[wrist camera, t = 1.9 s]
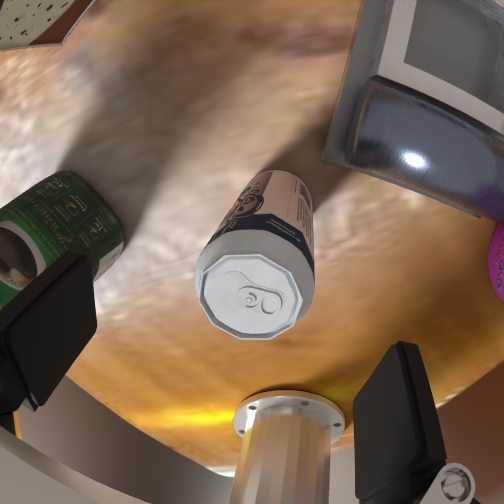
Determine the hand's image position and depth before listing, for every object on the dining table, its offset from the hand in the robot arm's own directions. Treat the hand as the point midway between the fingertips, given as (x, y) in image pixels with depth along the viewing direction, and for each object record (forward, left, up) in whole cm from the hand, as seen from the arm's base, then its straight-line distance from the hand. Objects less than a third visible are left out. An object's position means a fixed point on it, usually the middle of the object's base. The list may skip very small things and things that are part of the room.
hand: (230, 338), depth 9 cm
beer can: (-1, 0, -15) cm, 15 cm away
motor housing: (+11, -8, -15) cm, 20 cm away
